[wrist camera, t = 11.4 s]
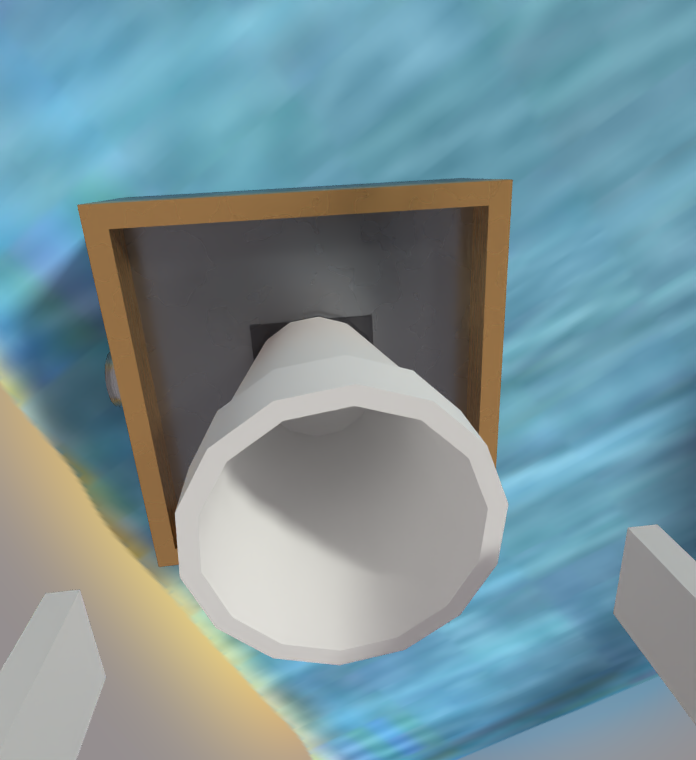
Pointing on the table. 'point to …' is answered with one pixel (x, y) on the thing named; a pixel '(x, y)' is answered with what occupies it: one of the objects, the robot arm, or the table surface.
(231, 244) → the wooden drawer tray
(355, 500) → the foam cup
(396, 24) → the table surface
